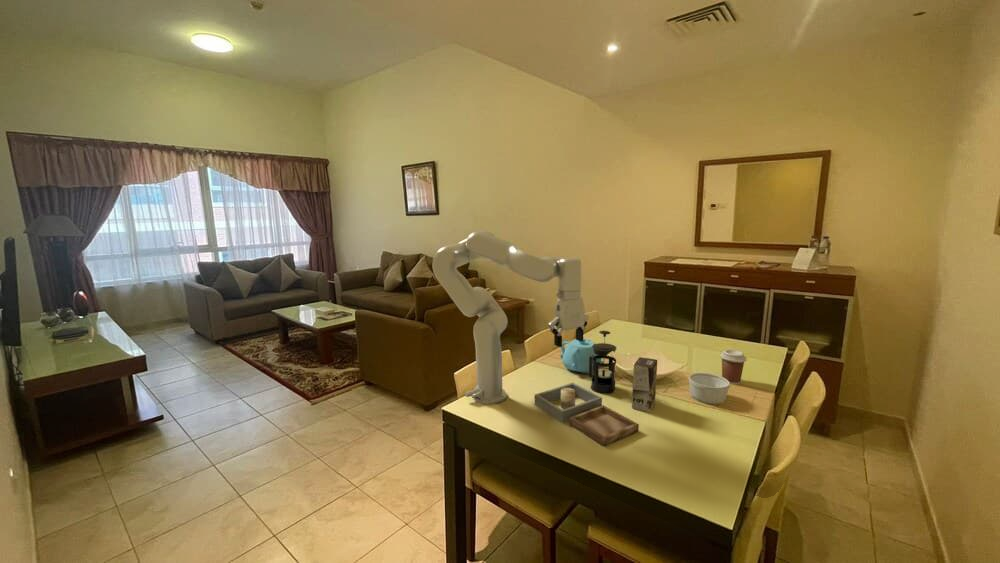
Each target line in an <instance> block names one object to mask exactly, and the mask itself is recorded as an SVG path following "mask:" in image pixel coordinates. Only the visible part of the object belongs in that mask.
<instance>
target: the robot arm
mask: <svg viewBox="0 0 1000 563" xmlns="http://www.w3.org/2000/svg"><path fill="white" fill-rule="evenodd" d="M433 256H434V257H433V259H432V271H433V275H434V277H435V279H436V280H437V281H438V283H439V285H441V287H442V288H443V289H444V290H445V292H446V293H447V294H448V296H449V297H450V299H451V300H452V301H453V302H454V304H455V305H456V307H457V308H458V310H459V311H460V312H461V313H462V314H463V316H465V317H467V318H472V317H473V318H474V317H475V316H478V319H477V320H476V321H475V323H474V325H473V330H472V332H473V333H472V334H473V340H474V346H475V365H476V366H475V368H476V370H475V371H476V385H474V387H473V389H472V390H468V391H465V392H464V396H465V397H466V398H469V397H471V399H473V400H474V401H475V402H477V403H479V404H483V405H495V404H499V403H502V402H503V401H505V400H506V399H507V396H508V395H507V393H508V392H507V391H506V390H505V389H503V358H502V357H503V356H502V355H503V354H502V352H503V351H502V343H501V338H500V337H501V334H502V333H503V332H504V331H505V330H506V329H507V327H508V317H507V315H506V313H505V311H504V310H503V309H502V307H501V306H500V305H499V303H498V302H497V301H496V299H495V298H494V297H493V295H492V294H491V292H489V290H487V289H486V288H485V287H482V286H474V287H473V285H471V283H470V282H469V281H468V280H467V278H466V277H465V276H464V275H463V274H462V273H461V272H460V271H459V270H458V269H457V268H459V267H461V266H464V265H466V264H469V263H471V262H473V261H475V260H477V259H480V258H481V259H484V260H487V261H489V262H492V263H495V264H497V265H500V266H503V267H505V268H507V269H508V270H510V271H512V272H513V273H516V274H518V275H519V276H521V277H524V278H528V279H529V280H533V281H536V282H539V283H547V282H550V281H551V280H552V279H553V278H558V279H557V280H558V281H557V282H558V283H557V284H558V286H557V287H558V289H557V290H558V291H557V293H555V294H556V297H557V300H556V304H555V308H554V309H555V310H554V318H553V319H552V320H550V321H549V323H548V324H547V326H548V328H549V330H550V332H551V333H552V334H553V335H554V336H553V338H554V340H553V342H554V343H553V344H554V346H556V347H559V348H561V347H562V343H563V335H562V333H563V331H570V330H573V329H575V340H578V341H581V342H583V338H584V331H585V330H586V327H587V325H588V321H589V319H590V316H589V315H587V314H585V303H584V299H583V297H582V261H581V259H580V258H578V257H556V256H550V255H549V256H548V255H547V256H544V257H542V258H540V257H537V256H535V255H531V254H528V253H526V252H524V251H522V250H521V249H520V248H519V247H518V246H517V245H516V244H515V243H514V242H511V241H508V240H506V239H503V238H499V237H497V236H495V235H494V233H492V232H491V231H489V230H478V231H473V232H471V233H470V234H469V235H468V237H467V238H466V239H464V240H462V241H459V242H457V243H454V244H453V243H452V244H448V245H445V246H443V247H441V248H439V249H438V250H437V251H436V253H435V255H433Z"/></svg>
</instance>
